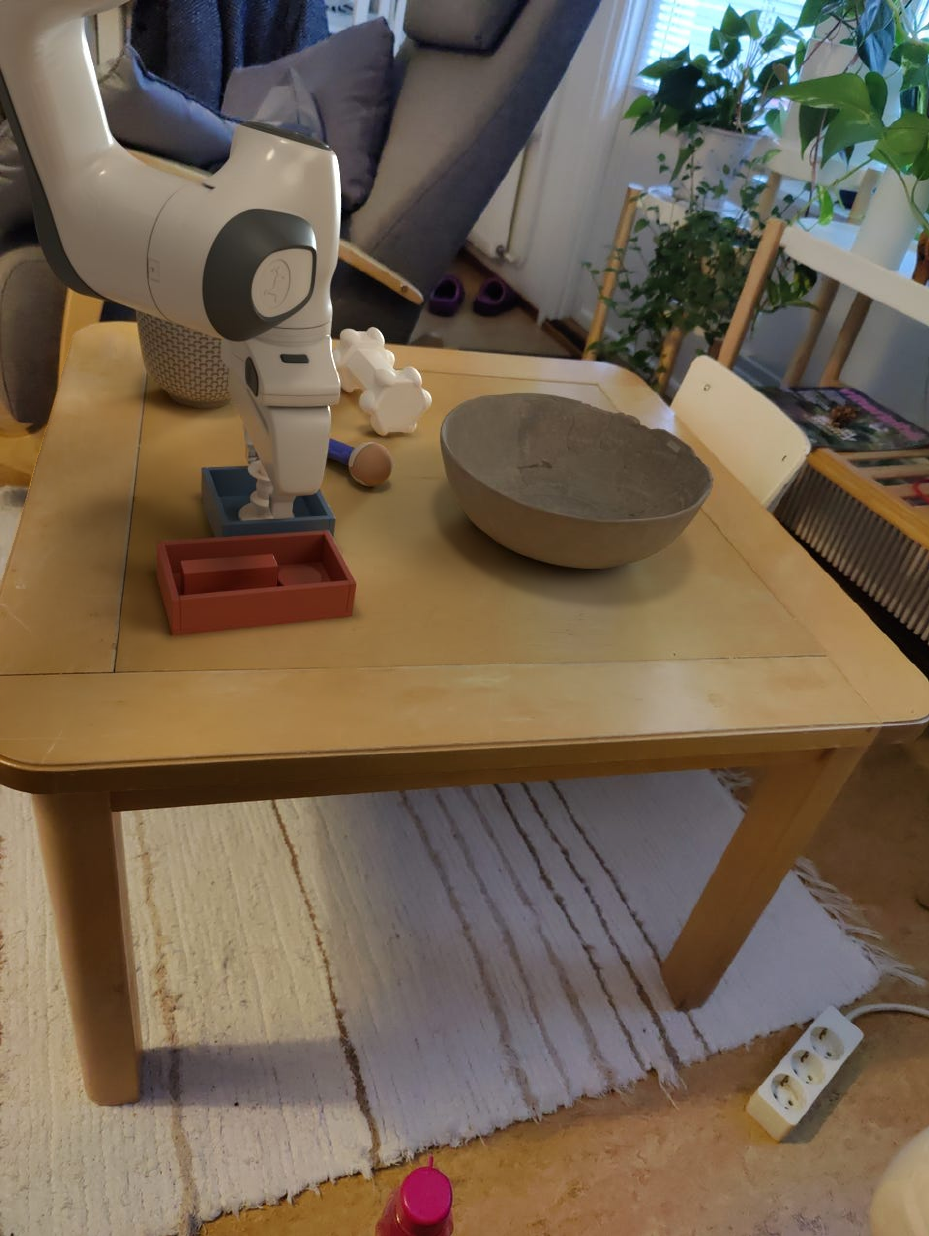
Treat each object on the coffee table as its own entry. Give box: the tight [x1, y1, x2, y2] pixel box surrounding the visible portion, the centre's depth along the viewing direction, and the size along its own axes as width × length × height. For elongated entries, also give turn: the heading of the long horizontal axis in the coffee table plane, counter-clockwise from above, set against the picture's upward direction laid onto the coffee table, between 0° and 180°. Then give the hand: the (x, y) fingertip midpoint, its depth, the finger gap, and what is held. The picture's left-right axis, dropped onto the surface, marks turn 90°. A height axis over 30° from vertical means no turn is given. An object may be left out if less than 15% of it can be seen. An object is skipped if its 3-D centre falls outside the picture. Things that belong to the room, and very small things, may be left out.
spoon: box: [180, 554, 322, 595], centre depth 73 cm, size 12×4×3 cm, turn 113°
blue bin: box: [200, 465, 337, 539], centre depth 82 cm, size 10×10×4 cm
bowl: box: [439, 392, 714, 570], centre depth 90 cm, size 28×28×10 cm
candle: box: [238, 460, 294, 521], centre depth 80 cm, size 5×5×10 cm
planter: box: [135, 309, 232, 410], centre depth 98 cm, size 14×14×13 cm
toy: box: [327, 437, 394, 487], centre depth 95 cm, size 5×5×15 cm
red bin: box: [155, 530, 357, 637], centre depth 73 cm, size 15×8×4 cm, turn 114°
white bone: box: [332, 326, 433, 437], centre depth 105 cm, size 15×9×8 cm, turn 26°
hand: (267, 487), depth 81 cm, fingers open, 8 cm apart
